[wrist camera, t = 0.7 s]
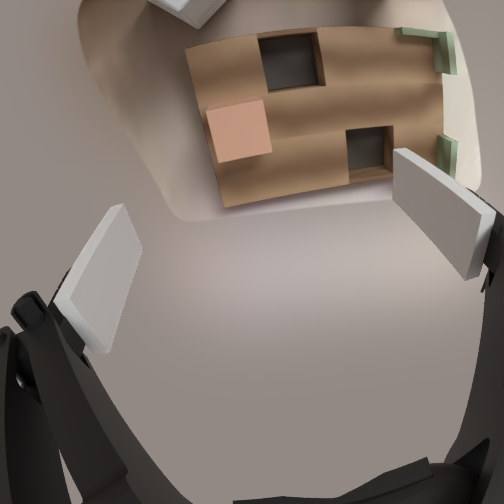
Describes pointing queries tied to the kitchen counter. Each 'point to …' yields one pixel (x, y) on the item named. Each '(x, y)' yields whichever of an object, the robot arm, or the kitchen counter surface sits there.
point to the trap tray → (328, 104)
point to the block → (239, 128)
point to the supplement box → (191, 9)
